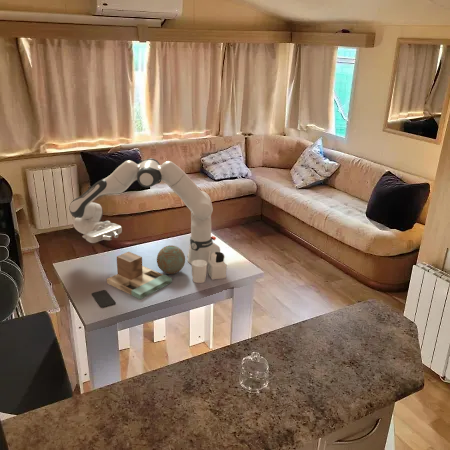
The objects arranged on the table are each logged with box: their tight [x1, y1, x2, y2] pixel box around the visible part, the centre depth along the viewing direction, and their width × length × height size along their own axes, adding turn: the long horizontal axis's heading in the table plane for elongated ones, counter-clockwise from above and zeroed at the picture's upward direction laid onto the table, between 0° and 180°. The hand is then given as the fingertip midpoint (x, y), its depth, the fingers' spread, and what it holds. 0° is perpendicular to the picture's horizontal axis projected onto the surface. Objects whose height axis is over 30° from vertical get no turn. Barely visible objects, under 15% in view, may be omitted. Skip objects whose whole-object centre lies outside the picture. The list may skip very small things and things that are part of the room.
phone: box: [91, 289, 117, 309], centre depth 222 cm, size 7×1×15 cm
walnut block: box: [116, 251, 143, 280], centre depth 238 cm, size 8×10×10 cm
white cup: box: [191, 260, 208, 284], centre depth 241 cm, size 8×8×10 cm
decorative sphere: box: [156, 245, 186, 275], centre depth 247 cm, size 15×15×15 cm
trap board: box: [106, 265, 173, 300], centre depth 237 cm, size 22×24×2 cm
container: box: [207, 251, 227, 281], centre depth 245 cm, size 8×8×13 cm
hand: (114, 237), depth 240 cm, fingers open, 3 cm apart
